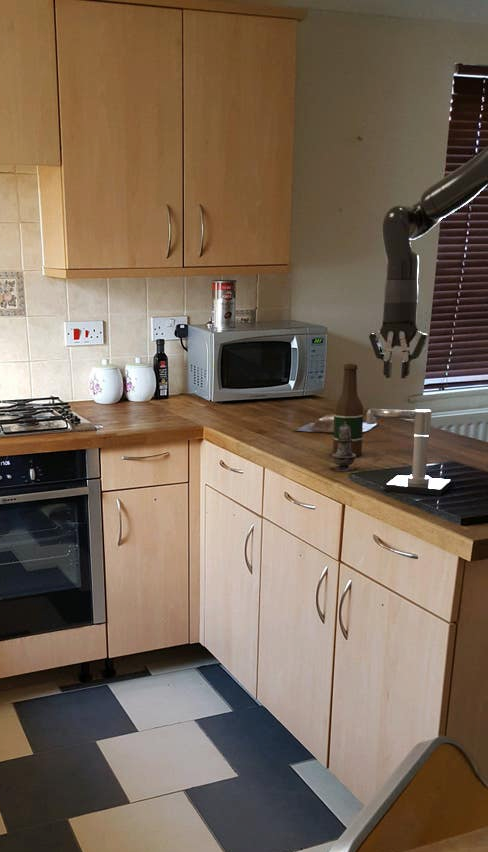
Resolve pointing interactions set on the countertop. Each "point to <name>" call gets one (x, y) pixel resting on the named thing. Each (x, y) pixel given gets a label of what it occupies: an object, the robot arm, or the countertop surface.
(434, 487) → the faucet base
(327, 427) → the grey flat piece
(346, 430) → the grey figurine
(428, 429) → the spout
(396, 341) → the robot arm
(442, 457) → the countertop surface
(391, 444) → the countertop surface
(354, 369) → the beer bottle
